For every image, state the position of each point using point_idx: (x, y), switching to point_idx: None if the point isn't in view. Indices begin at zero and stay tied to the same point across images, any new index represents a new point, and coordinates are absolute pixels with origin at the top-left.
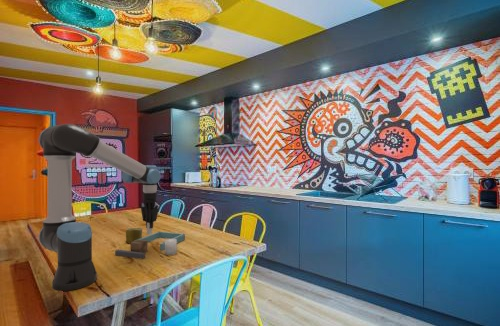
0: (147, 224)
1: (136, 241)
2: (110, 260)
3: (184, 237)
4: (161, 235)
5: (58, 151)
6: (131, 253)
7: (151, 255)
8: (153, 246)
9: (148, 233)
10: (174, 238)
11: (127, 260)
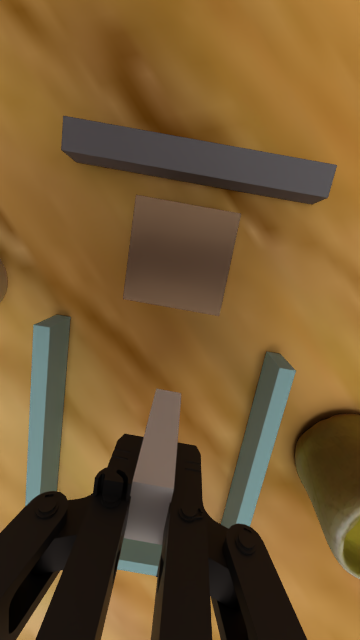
0: (163, 464)
1: (204, 255)
2: (289, 61)
3: None
4: None
5: None
6: (171, 137)
7: (65, 214)
8: (158, 381)
9: (158, 393)
10: (28, 457)
11: (166, 86)
